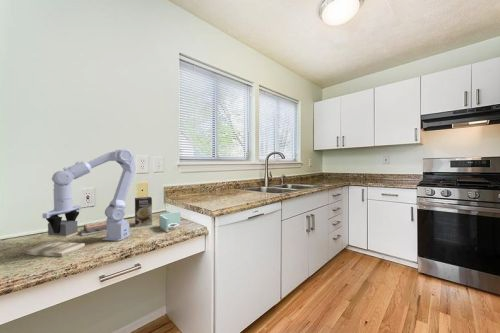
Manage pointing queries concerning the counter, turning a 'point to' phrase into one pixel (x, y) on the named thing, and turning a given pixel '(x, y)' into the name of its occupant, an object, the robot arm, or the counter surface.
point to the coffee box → (143, 211)
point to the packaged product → (94, 228)
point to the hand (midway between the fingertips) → (63, 230)
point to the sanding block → (64, 229)
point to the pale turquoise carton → (169, 221)
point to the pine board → (54, 249)
